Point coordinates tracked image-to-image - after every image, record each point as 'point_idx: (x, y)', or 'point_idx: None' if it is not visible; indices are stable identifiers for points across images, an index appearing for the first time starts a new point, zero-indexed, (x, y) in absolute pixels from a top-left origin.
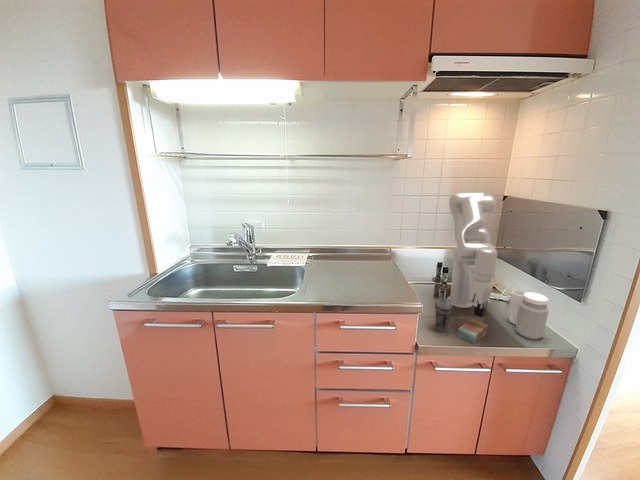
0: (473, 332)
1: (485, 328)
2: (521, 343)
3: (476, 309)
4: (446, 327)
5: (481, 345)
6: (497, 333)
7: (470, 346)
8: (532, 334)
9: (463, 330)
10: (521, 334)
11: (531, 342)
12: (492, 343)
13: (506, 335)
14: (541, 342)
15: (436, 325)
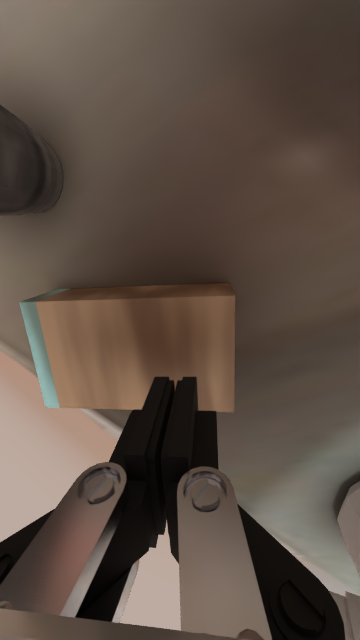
0: (65, 387)
1: None
2: (265, 502)
3: (113, 460)
4: (7, 214)
5: None
6: (272, 412)
7: None
8: (352, 558)
9: (29, 337)
10: (345, 498)
11: (311, 524)
12: None
13: (288, 446)
14: (345, 548)
15: None
